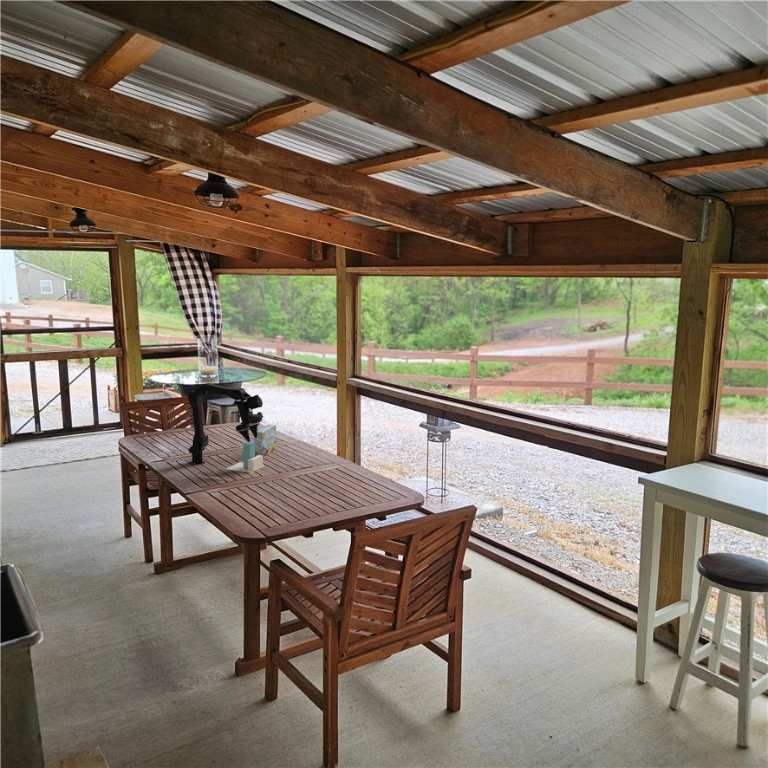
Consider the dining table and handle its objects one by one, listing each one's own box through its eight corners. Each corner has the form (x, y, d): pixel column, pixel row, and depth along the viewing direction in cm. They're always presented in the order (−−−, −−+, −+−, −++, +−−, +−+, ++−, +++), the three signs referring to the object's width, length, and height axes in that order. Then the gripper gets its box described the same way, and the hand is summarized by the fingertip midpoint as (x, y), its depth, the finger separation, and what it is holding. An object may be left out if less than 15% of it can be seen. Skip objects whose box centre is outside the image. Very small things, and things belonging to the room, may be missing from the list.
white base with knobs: (225, 470, 330) (225, 457, 329) (239, 464, 344) (239, 451, 343) (251, 474, 326) (251, 460, 325) (264, 467, 339) (264, 454, 338)
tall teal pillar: (243, 468, 332) (243, 443, 330) (248, 465, 337) (248, 441, 335) (250, 468, 331) (250, 444, 329) (254, 466, 336) (254, 442, 334)
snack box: (262, 458, 356) (262, 432, 354) (253, 457, 357) (253, 431, 355) (276, 449, 377) (276, 424, 375) (267, 448, 378) (267, 423, 376)
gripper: (250, 411, 323) (259, 440, 324) (265, 404, 341) (273, 432, 342) (231, 416, 325) (240, 445, 327) (246, 409, 343) (254, 437, 345)
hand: (252, 439), depth 335 cm, fingers open, 9 cm apart
